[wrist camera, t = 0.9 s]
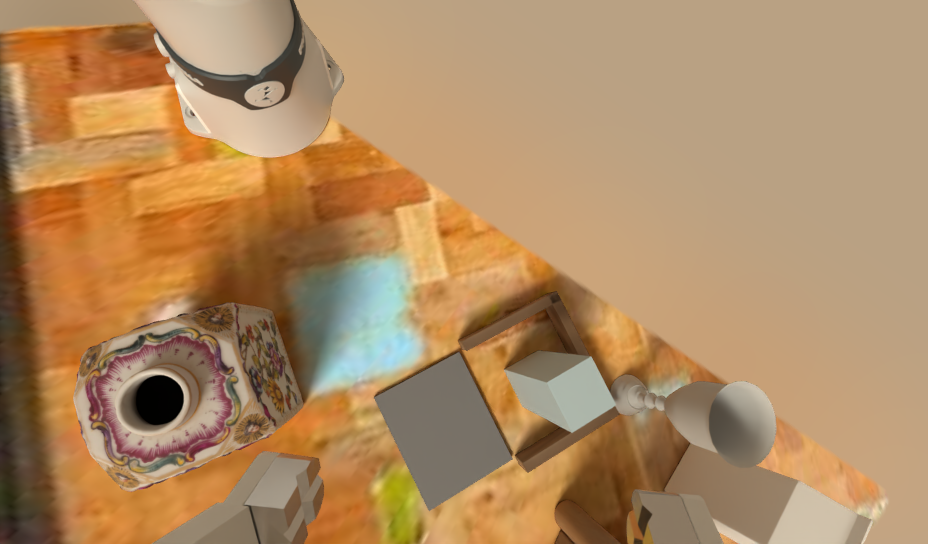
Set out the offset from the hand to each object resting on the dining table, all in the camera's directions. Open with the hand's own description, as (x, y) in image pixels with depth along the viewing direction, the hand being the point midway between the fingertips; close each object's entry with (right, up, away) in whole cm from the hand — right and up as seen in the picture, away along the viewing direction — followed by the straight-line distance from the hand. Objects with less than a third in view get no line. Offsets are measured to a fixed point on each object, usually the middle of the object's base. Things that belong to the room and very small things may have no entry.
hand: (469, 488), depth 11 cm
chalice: (+21, -10, +44) cm, 50 cm away
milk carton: (+30, -21, +44) cm, 57 cm away
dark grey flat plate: (-3, -13, +39) cm, 41 cm away
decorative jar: (-25, -6, +36) cm, 44 cm away
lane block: (+8, -7, +42) cm, 43 cm away
